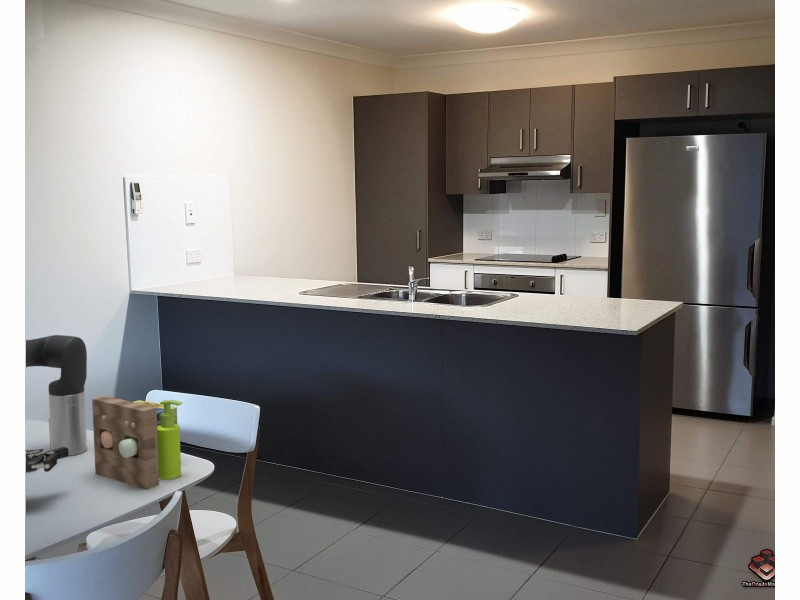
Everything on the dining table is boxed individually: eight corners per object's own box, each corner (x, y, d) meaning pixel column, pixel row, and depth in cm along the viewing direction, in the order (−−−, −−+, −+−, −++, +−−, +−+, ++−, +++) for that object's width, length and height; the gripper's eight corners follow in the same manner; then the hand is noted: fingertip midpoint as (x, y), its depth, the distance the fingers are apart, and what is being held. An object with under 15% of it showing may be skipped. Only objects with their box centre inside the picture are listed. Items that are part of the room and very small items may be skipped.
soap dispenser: (177, 480, 195) (175, 404, 193) (153, 478, 197) (150, 403, 194) (188, 472, 201) (186, 398, 199) (164, 470, 203) (162, 397, 200)
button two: (119, 456, 191) (118, 438, 190) (129, 452, 193) (128, 435, 192) (130, 459, 188) (130, 442, 188) (140, 456, 191) (140, 438, 190)
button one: (101, 446, 198) (100, 430, 197) (111, 443, 200) (110, 427, 200) (112, 449, 195) (111, 433, 195) (121, 446, 198) (121, 430, 197)
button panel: (94, 473, 200) (91, 399, 197) (108, 469, 203) (105, 395, 201) (145, 490, 189) (142, 411, 186) (159, 484, 193) (156, 407, 190)
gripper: (12, 460, 168) (82, 441, 183) (-20, 449, 175) (50, 431, 190) (14, 493, 169) (84, 471, 184) (-19, 481, 176) (51, 461, 191)
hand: (66, 451), depth 187 cm, fingers closed
